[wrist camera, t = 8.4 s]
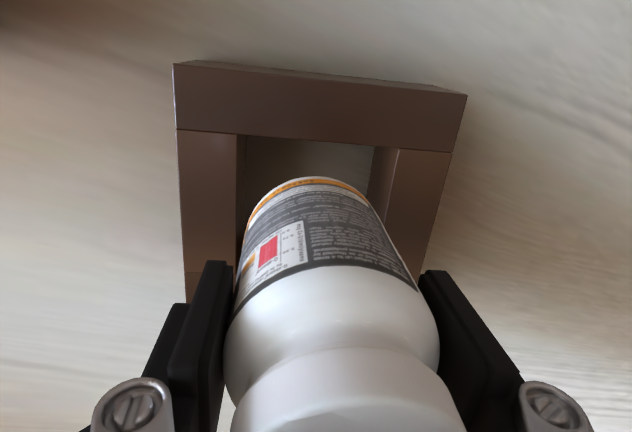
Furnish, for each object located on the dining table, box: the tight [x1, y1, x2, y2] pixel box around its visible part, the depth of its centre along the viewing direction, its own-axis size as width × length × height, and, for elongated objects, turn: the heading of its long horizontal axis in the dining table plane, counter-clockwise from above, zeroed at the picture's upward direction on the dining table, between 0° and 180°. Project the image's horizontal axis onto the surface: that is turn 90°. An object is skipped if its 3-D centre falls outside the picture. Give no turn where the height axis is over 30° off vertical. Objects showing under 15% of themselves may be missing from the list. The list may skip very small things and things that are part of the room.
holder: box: [172, 60, 468, 303], centre depth 19 cm, size 12×12×4 cm
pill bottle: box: [222, 176, 467, 432], centre depth 11 cm, size 6×6×10 cm
